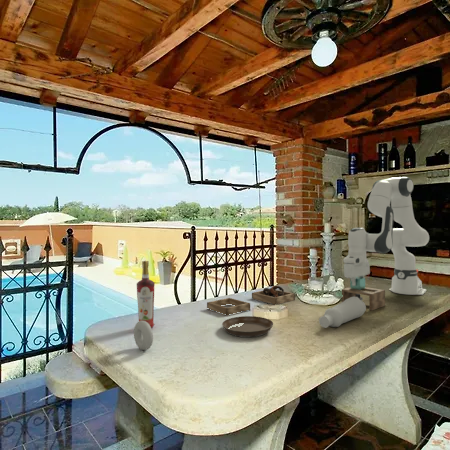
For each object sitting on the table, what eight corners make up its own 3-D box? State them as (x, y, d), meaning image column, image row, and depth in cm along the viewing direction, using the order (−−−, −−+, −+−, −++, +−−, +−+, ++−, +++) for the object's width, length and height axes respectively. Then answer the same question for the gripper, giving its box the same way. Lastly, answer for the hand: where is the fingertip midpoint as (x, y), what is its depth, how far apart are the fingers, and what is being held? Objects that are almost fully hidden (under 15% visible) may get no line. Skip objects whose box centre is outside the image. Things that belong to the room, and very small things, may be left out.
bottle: (344, 306, 153) (310, 321, 133) (354, 291, 150) (320, 305, 129) (360, 319, 148) (327, 338, 127) (371, 305, 144) (338, 322, 124)
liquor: (136, 331, 130) (135, 262, 130) (137, 326, 138) (136, 260, 138) (155, 330, 132) (154, 262, 132) (155, 324, 139) (154, 260, 139)
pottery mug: (280, 296, 191) (284, 286, 187) (281, 307, 183) (286, 296, 179) (261, 292, 191) (264, 281, 187) (261, 302, 182) (265, 291, 179)
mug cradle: (271, 294, 195) (270, 288, 195) (294, 299, 181) (294, 293, 181) (251, 298, 184) (251, 292, 184) (275, 304, 170) (275, 298, 170)
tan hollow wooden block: (355, 300, 178) (355, 285, 178) (385, 305, 165) (385, 290, 165) (341, 304, 169) (341, 289, 169) (371, 310, 157) (371, 294, 157)
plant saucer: (212, 329, 132) (212, 321, 132) (249, 320, 145) (249, 312, 145) (244, 344, 116) (244, 335, 116) (284, 332, 128) (284, 323, 128)
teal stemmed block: (355, 297, 173) (355, 276, 173) (365, 299, 169) (365, 277, 169) (350, 299, 170) (350, 277, 170) (360, 301, 166) (360, 279, 166)
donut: (132, 347, 114) (131, 318, 114) (140, 344, 116) (140, 316, 116) (146, 355, 107) (145, 325, 107) (155, 352, 109) (154, 322, 109)
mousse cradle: (229, 304, 173) (229, 297, 173) (250, 310, 160) (250, 303, 160) (207, 309, 163) (206, 302, 163) (227, 316, 151) (227, 308, 151)
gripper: (361, 256, 179) (361, 281, 179) (341, 259, 166) (341, 286, 166) (372, 257, 174) (373, 282, 174) (352, 260, 161) (353, 288, 161)
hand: (357, 284), depth 170 cm, fingers closed on teal stemmed block, 5 cm apart
